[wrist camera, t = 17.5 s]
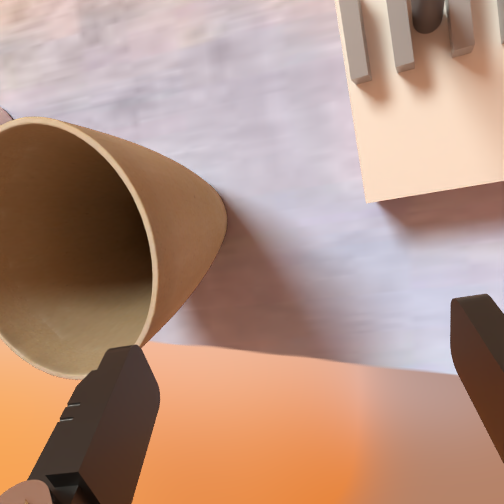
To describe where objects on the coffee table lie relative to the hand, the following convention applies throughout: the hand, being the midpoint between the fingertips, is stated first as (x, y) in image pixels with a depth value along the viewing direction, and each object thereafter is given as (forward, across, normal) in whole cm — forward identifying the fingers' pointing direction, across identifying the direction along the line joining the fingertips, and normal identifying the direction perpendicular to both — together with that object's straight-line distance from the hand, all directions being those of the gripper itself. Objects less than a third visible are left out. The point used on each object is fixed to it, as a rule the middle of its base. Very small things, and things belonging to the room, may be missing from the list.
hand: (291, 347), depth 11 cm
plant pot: (+26, +9, +7) cm, 28 cm away
